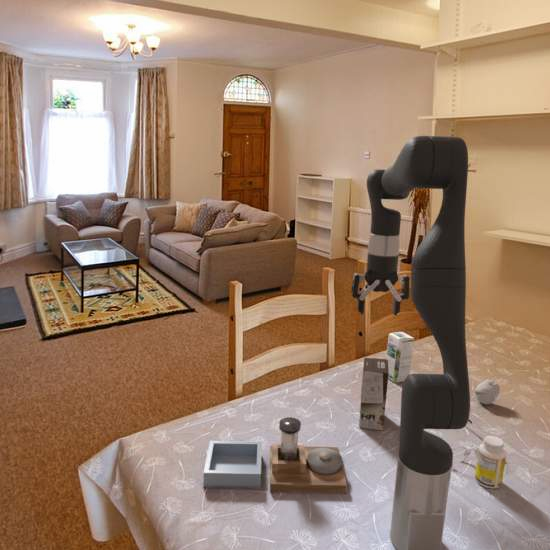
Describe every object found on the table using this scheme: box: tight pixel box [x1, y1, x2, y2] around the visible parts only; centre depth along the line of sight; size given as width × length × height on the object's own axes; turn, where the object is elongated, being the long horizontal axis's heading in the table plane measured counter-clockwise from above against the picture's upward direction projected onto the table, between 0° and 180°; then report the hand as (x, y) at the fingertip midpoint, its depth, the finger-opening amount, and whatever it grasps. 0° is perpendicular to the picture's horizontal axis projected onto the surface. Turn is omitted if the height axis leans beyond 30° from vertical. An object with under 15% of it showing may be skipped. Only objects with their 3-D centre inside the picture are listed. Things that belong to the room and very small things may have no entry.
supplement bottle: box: [474, 435, 507, 490], centre depth 113 cm, size 6×6×10 cm
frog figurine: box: [474, 378, 501, 405], centre depth 149 cm, size 6×7×7 cm
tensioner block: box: [269, 444, 348, 495], centre depth 115 cm, size 14×16×5 cm
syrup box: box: [385, 331, 415, 384], centre depth 162 cm, size 6×6×14 cm
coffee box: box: [358, 357, 389, 431], centre depth 136 cm, size 9×6×16 cm
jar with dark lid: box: [278, 416, 302, 461], centre depth 114 cm, size 5×5×10 cm
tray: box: [203, 440, 263, 490], centre depth 115 cm, size 12×12×4 cm
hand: (378, 313), depth 133 cm, fingers open, 8 cm apart
